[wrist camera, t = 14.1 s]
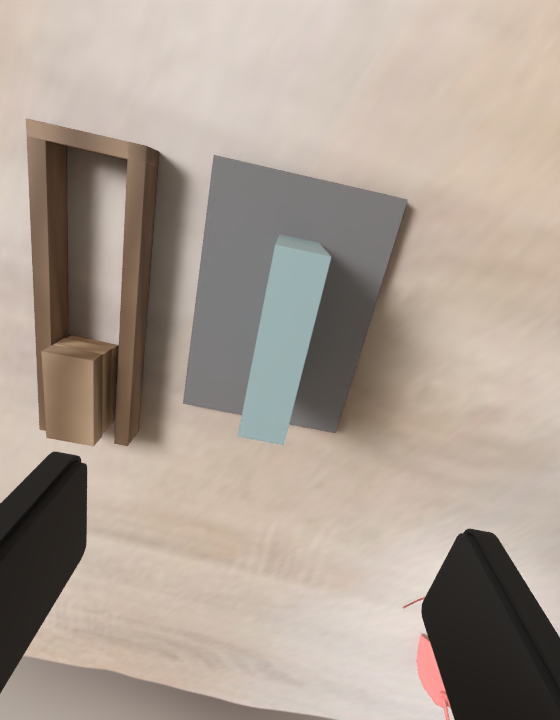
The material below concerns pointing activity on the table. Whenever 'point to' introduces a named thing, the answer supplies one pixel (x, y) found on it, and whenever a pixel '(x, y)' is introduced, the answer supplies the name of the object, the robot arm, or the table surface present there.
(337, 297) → the mat
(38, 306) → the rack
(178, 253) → the table surface
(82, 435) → the offcut top
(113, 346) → the block
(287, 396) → the teal rectangular block
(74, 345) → the block
